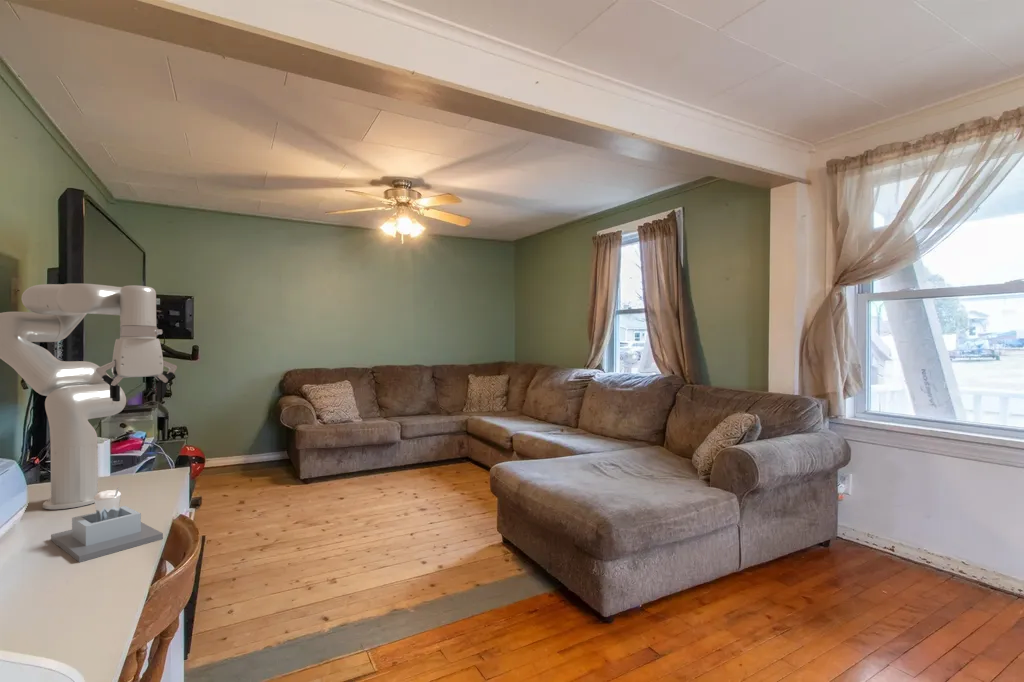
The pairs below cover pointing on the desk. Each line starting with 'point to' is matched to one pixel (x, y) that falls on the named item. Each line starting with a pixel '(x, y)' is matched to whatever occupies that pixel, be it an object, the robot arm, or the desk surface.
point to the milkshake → (107, 504)
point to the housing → (105, 535)
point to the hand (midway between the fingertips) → (138, 399)
